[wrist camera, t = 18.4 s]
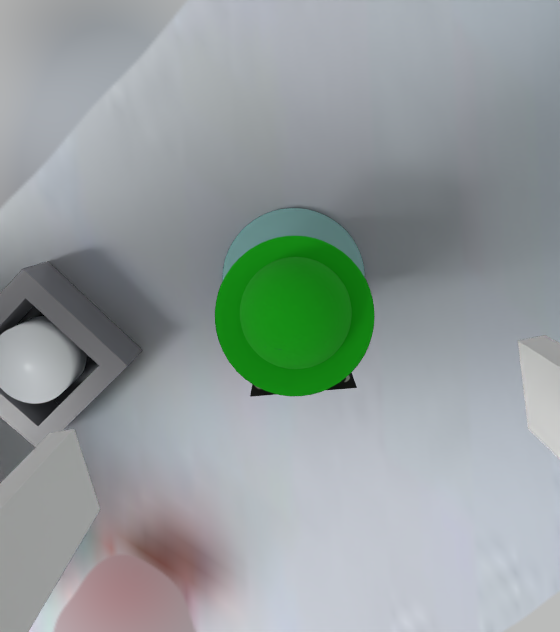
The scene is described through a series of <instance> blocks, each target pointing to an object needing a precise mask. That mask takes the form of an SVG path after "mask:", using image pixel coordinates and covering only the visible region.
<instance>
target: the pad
mask: <svg viewBox="0 0 560 632" xmlns="http://www.w3.org/2000/svg"><path fill="white" fill-rule="evenodd" d="M283 236H307V237H312V238H316V239H319V240H322V241H325V242H327V243H329V244H331V245H333V246H335V247H336V248H338V249H339V250H341V251H342V252H344V253H345V254H346V255H347V256H348V257H349V258H350V259H351V260H352V261H353V262H354V263H355V264H356V266H357V267H358V268H359V269H360V271H361V272H362V274H363V276H364V278H365V273H364V265H363V261H362V257H361V255H360V252H359V250H358V247H357V246H356V244H355V242H354V240H353V239H352V238H351V236H350V235H349V234H348V232H347V231H346V230H345V229H344V228H343V227H342V226H341V225H339V224H338V223H337V222H335V221H334V220H333V219H331V218H329V217H327V216H326V215H323V214H321V213H318V212H316V211H312V210H308V209H301V208H286V209H279V210H275V211H272V212H269V213H267V214H264V215H262V216H260V217H258V218H257V219H255V220H253V221H252V222H251V223H250V224H248V225H247V226H246V227H245V228H244V229H243V230H242V231H241V232H240V233H239V234H238V235H237V237H236V238H235V240H234V241H233V243H232V244H231V246H230V248H229V250H228V253H227V255H226V258H225V262H224V267H223V276H222V280H224V278H225V276H226V274H227V273H228V271H229V270H230V268H231V267H232V265H233V264H234V263H235V262H236V261H237V260H238V259H239V258H240V257H241V256H242V255H243V254H245V253H246V252H247V251H248V250H249V249H251V248H253V247H255V246H256V245H258V244H260V243H262V242H265V241H267V240H270V239H273V238H277V237H283Z"/></svg>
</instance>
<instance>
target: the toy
mask: <svg viewBox="0 0 560 632" xmlns="http://www.w3.org/2000/svg"><path fill="white" fill-rule="evenodd" d="M215 324H216V331H217V336H218V339H219V342H220V345H221V347H222V350H223V352H224V354H225V355H226V357H227V359H228V361H229V362H230V363H231V365H232V366H233V367H234V368H235V370H236V371H237V372H238V373H239V374H240V375H241V376H243V377H244V378H245V379H246V380H248V381H249V382H250V383H252V384H253V385H252V390H251V395H250V396H261V395H273V394H279V395H285V396H305V395H311V394H315V393H319V392H322V391H324V390H334V389H346V388H357V387H356V384H355V381H354V379H353V376H352V373H351V372H352V371H353V370H354V369H355V368H356V367H357V365H358V364H359V362H360V361H361V359H362V358H363V356H364V355H365V353H366V350H367V348H368V346H369V343H370V340H371V337H372V333H373V328H374V305H373V299H372V295H371V292H370V288H369V286H368V284H367V281H366V279H365V278H364V276H363V274H362V272H361V271H360V269H359V268H358V267H357V266H356V264H355V263H354V262H353V261H352V260H351V259H350V258H349V257H348V256H347V255H346V254H345V253H344V252H342V251H341V250H339V249H338V248H336V247H335V246H333V245H331V244H329V243H327V242H325V241H322V240H319V239H316V238H312V237H307V236H283V237H277V238H273V239H270V240H267V241H265V242H262V243H260V244H258V245H256V246H255V247H253V248H251V249H249V250H248V251H247V252H246V253H245V254H243V255H242V256H241V257H240V258H239V259H238V260H237V261H236V262H235V263H234V264H233V265H232V267H231V268H230V270H229V271H228V273H227V274H226V276H225V278H224V280H223V282H222V284H221V286H220V289H219V292H218V296H217V300H216V307H215Z"/></svg>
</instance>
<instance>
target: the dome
mask: <svg viewBox="0 0 560 632" xmlns="http://www.w3.org/2000/svg"><path fill="white" fill-rule="evenodd" d="M86 359H87V354H86V353H85V352H84V351H83V350H82V349H80V348H79V347H78V346H77V345H76V344H75V343H74V342H73V341H72V340H71V339H70V338H68V337H67V336H66V335H65V334H64V333H63V332H62V331H61V330H60V329H59V328H58V327H56V326H55V325H54V324H53V323H52V322H51V321H50V320H49V319H48V318H47V317H46V316H39V317H34V318H31V319H29V320H27V321H25V322H23V323H21V324H19V325H17V326H15V327H13V328H11V329H8V330H6V331H5V332H3V333H2V334H1V335H0V388H1V389H2V390H3V391H4V392H5V393H7V394H8V395H9V396H11V397H13V398H14V399H17V400H19V401H22V402H26V403H33V404H36V403H44V402H48V401H50V400H53V399H54V398H56V397H58V396H59V395H60V394H61V393H62V392H63V391H65V390H66V389H67V388H68V387H69V386H70V385H71V384H72V383H74V382H75V381H76V380H77V379H78V378H79V377H80V375H81V374H82V372H83V370H84V368H85V365H86Z"/></svg>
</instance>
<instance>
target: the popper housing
mask: <svg viewBox="0 0 560 632" xmlns="http://www.w3.org/2000/svg"><path fill="white" fill-rule="evenodd" d="M33 306H35V307H36V308H37V309H38V310H39V311H40V312H41V313H42V314H43V315H44V316H46V317H47V318H48V319H49V320H50V321H51V322H52V323H53V324H54V325H55V326H56V327H58V328H59V329H60V330H61V331H62V332H63V333H64V334H65V335H66V336H67V337H68V338H70V339H71V340H72V341H73V342H74V343H75V344H76V345H77V346H78V347H79V348H80V349H82V350H83V351H84V352H85V353H86V354H87V355H88V356H89V357H90V358H91V359H92V360H94V361H95V362H96V363H97V364H98V365H99V366H98V367H97V368H96V369H95V370H94V371H93V372H92V373H91V374H90V375H89V376H88V377H87V378H86V379H85V380H84V381H83V382H82V383H81V384H80V385H79V386H78V387H77V388H76V389H75V390H74V391H73V392H72V393H71V394H70V395H69V396H68V397H67V398H66V399H65V400H64V401H63V402H62V403H61V404H60V405H59V404H58V403H57V402H56V401H54V400H50V401H48V402H44V403H36V404H33V403H26V402H22V401H19V400H17V399H14V398H13V397H11V396H9V395H8V394H7V393H5V392H4V391H3V390H2V389H1V388H0V418H2V419H3V420H4V421H5V422H6V423H7V424H9V425H10V426H11V427H12V428H13V429H14V430H16V431H17V432H18V433H19V434H20V435H21V436H22V437H24V438H25V439H26V440H27V441H28V442H29V443H31V444H32V445H33V446H34V447H35V448H36V447H37V446H38V445H39V444H40V442H41V441H42V440H43V439H44V438H45V437H46V436H47V435H48V434H49V433H54V432H59V431H62V430H63V429H64V428H65V427H66V426H67V425H68V424H69V423H70V422H72V421H73V420H74V419H75V418H76V417H77V416H78V415H79V414H80V413H81V412H82V411H83V410H84V409H85V408H86V407H87V406H88V405H89V404H90V403H91V402H92V401H93V400H94V399H95V398H96V397H97V396H98V395H99V394H100V393H101V392H102V391H103V390H104V389H105V388H106V387H107V386H108V385H109V384H110V383H111V382H112V381H113V380H114V379H115V378H116V377H117V376H118V375H119V374H120V373H121V372H122V371H123V370H124V369H125V368H126V367H127V366H128V365H129V364H130V363H131V362H132V361H133V360H134V359H135V358H136V357H137V356H138V354H139V353H140V352H141V351H142V349H141V348H140V347H138V346H137V345H136V344H135V343H134V342H133V341H132V340H131V339H130V338H129V337H128V336H127V335H126V334H125V333H124V332H122V331H121V330H120V329H119V328H118V327H117V326H116V325H115V324H114V323H113V322H112V321H111V320H110V319H109V318H108V317H107V316H105V315H104V314H103V313H102V312H101V311H100V310H99V309H98V308H97V307H96V306H95V305H94V304H93V303H92V302H91V301H89V300H88V299H87V298H86V297H85V296H84V295H83V294H82V293H81V292H80V291H79V290H78V289H77V288H76V287H75V286H74V285H72V284H71V283H70V282H69V281H68V280H67V279H66V278H65V277H64V276H63V275H62V274H61V273H60V272H59V271H58V270H56V269H55V268H54V267H53V266H52V265H51V264H50V263H49V262H44V263H41V264H37V265H34V266H30V267H27V268H23V269H22V270H21V271H20V272H19V273H18V274H17V276H16V277H15V278H14V279H13V280H12V281H11V282H10V283H9V284H8V285H7V286H6V287H5V289H4V290H3V291H2V292H1V293H0V335H1V334H2V333H3V332H5V331H6V330H8V329H11V328H13V327H14V326H15V325H16V324H17V323H18V322H19V321H20V320H21V319H22V318H23V317H24V316H25V315H26V314H27V312H28V311H29V310H30V309H31V308H32V307H33Z"/></svg>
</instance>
